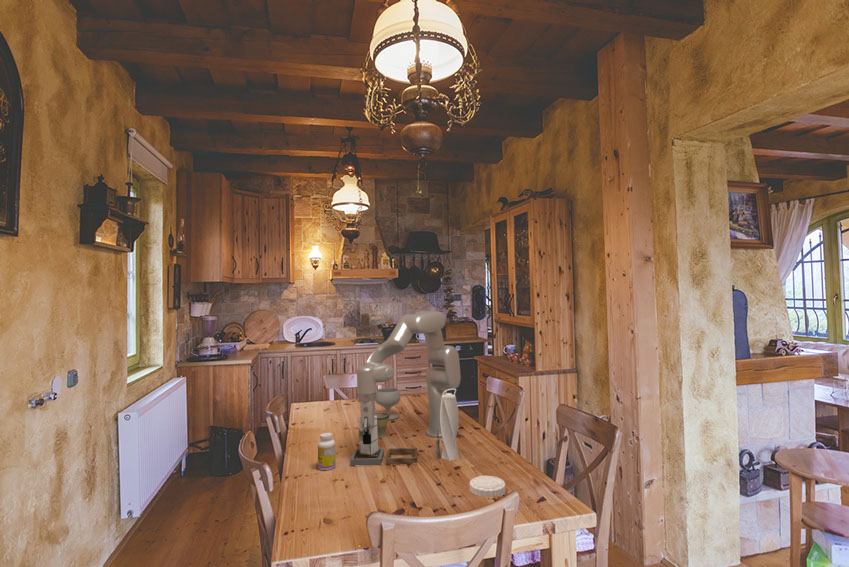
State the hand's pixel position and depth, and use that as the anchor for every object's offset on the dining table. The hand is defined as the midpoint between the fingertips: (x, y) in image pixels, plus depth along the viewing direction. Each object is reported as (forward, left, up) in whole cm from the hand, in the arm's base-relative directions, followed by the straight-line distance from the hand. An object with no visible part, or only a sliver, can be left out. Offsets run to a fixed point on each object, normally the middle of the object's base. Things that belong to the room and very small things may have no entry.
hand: (368, 440), depth 178 cm
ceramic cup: (-2, -33, -8) cm, 34 cm away
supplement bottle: (+15, +7, -8) cm, 19 cm away
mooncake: (-44, +31, -8) cm, 54 cm away
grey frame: (0, 0, -8) cm, 8 cm away
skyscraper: (-33, +1, -8) cm, 34 cm away
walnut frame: (-14, 0, -8) cm, 16 cm away
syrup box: (0, 0, -5) cm, 5 cm away
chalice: (-3, -64, -8) cm, 64 cm away
